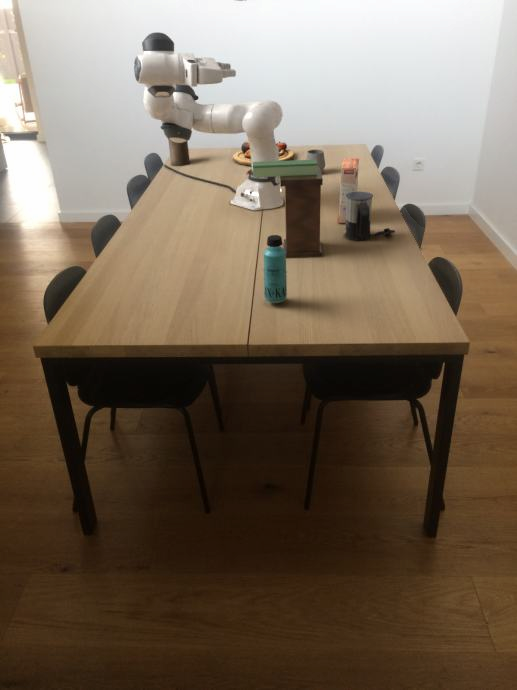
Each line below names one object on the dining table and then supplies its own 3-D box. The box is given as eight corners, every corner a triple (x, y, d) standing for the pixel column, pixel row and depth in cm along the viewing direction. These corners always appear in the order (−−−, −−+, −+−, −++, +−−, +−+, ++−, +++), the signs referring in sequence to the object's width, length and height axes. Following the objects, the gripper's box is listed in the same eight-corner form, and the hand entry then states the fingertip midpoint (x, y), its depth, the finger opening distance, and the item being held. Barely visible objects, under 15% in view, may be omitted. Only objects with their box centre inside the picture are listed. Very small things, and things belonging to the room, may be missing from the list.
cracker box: (354, 224, 215) (357, 167, 203) (338, 223, 216) (340, 167, 205) (356, 211, 226) (359, 157, 215) (341, 211, 227) (343, 157, 216)
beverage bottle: (263, 298, 168) (260, 233, 157) (286, 296, 168) (284, 231, 157) (265, 308, 162) (262, 242, 151) (289, 307, 162) (288, 240, 152)
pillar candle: (188, 165, 295) (185, 135, 287) (169, 166, 295) (166, 135, 287) (190, 160, 303) (187, 130, 295) (172, 161, 304) (168, 131, 296)
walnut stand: (282, 258, 191) (280, 180, 177) (281, 243, 202) (279, 168, 188) (322, 257, 191) (323, 178, 177) (319, 242, 202) (320, 167, 188)
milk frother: (339, 234, 207) (340, 193, 199) (376, 226, 212) (379, 186, 204) (360, 247, 196) (363, 205, 188) (399, 239, 201) (403, 197, 193)
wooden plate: (274, 170, 281) (273, 152, 277) (220, 163, 296) (219, 146, 292) (305, 154, 304) (305, 138, 299) (253, 148, 318) (253, 133, 314)
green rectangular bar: (253, 177, 181) (252, 165, 179) (253, 173, 185) (253, 162, 183) (316, 175, 180) (317, 163, 178) (315, 170, 184) (316, 159, 182)
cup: (328, 171, 275) (329, 150, 269) (319, 176, 268) (319, 154, 263) (311, 169, 279) (311, 148, 274) (301, 174, 273) (301, 152, 267)
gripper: (185, 73, 187) (227, 73, 189) (192, 88, 171) (238, 88, 173) (184, 51, 183) (227, 52, 186) (191, 64, 167) (238, 65, 170)
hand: (232, 69), depth 179 cm, fingers open, 8 cm apart
